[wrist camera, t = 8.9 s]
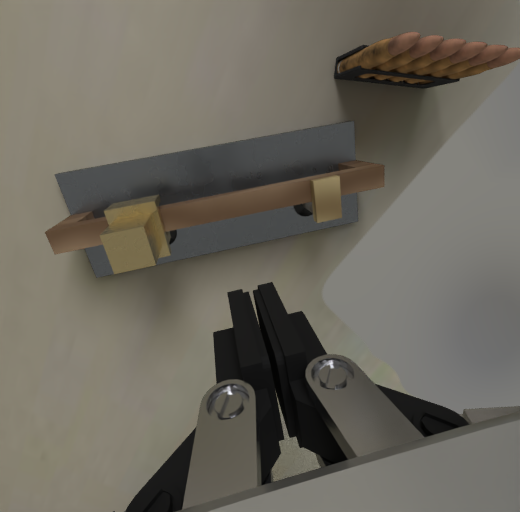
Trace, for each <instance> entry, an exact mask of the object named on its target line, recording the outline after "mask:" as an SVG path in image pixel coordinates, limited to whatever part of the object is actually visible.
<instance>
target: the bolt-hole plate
mask: <svg viewBox="0 0 520 512" xmlns="http://www.w3.org/2000/svg"><path fill="white" fill-rule="evenodd" d="M355 160H356V158H355V133H354V121H348V122H342V123H337V124H331V125H325V126H320V127H314V128H309V129H303V130H298V131H292V132H286V133H281V134H275V135H270V136H264V137H259V138H253V139H247V140H242V141H236V142H231V143H225V144H219V145H214V146H208V147H203V148H197V149H192V150H186V151H180V152H175V153H169V154H164V155H158V156H152V157H147V158H141V159H136V160H130V161H125V162H119V163H113V164H108V165H102V166H97V167H91V168H85V169H80V170H74V171H69V172H63V173H58V174H55V177H56V179H57V182H58V184H59V187H60V189H61V192H62V194H63V196H64V199H65V201H66V204H67V206H68V209H69V211H70V214H71V215H75V214H81V213H86V212H91V211H92V213H93V216H94V218H95V219H96V218H101V217H106V216H105V213H104V210H105V209H107V208H108V207H109V206H110V205H112V204H113V203H117V202H122V201H127V200H133V199H138V198H143V197H148V196H153V195H159V196H160V200H161V202H160V203H159V205H158V206H162V205H167V204H173V203H178V202H183V201H188V200H193V199H198V198H203V197H208V196H213V195H218V194H224V193H229V192H234V191H239V190H244V189H249V188H254V187H259V186H264V185H269V184H275V183H280V182H285V181H290V180H295V179H300V178H305V177H310V176H315V175H320V174H325V173H331V172H336V171H339V167H338V164H339V163H344V162H349V161H355ZM341 208H342V218H339V219H334V220H329V221H325V222H320V223H317V222H315V221H314V218H313V213H312V212H310V211H309V210H307V209H306V208H305V207H303V205H302V204H298V205H293V206H288V207H284V208H279V209H274V210H269V211H264V212H259V213H254V214H249V215H245V216H240V217H235V218H230V219H225V220H220V221H215V222H210V223H206V224H201V225H196V226H191V227H186V228H181V229H176V230H171V231H170V235H171V238H170V242H169V244H170V248H171V251H172V252H171V255H170V256H166V257H161V258H158V261H157V264H156V265H158V264H162V263H167V262H172V261H176V260H181V259H186V258H190V257H195V256H199V255H204V254H209V253H213V252H218V251H223V250H227V249H232V248H237V247H241V246H246V245H251V244H255V243H260V242H264V241H269V240H274V239H278V238H283V237H288V236H292V235H297V234H302V233H306V232H311V231H315V230H320V229H325V228H329V227H334V226H339V225H343V224H348V223H353V222H357V221H358V208H357V193H352V194H347V195H342V196H341ZM85 251H86V253H87V256H88V258H89V260H90V263H91V265H92V268H93V270H94V273H95V275H96V278H97V277H102V276H107V275H111V274H114V272H113V270H112V267H111V264H110V262H109V259H108V256H107V254H106V251H105V249H104V246H103V245H98V246H93V247H89V248H85Z"/></svg>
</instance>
